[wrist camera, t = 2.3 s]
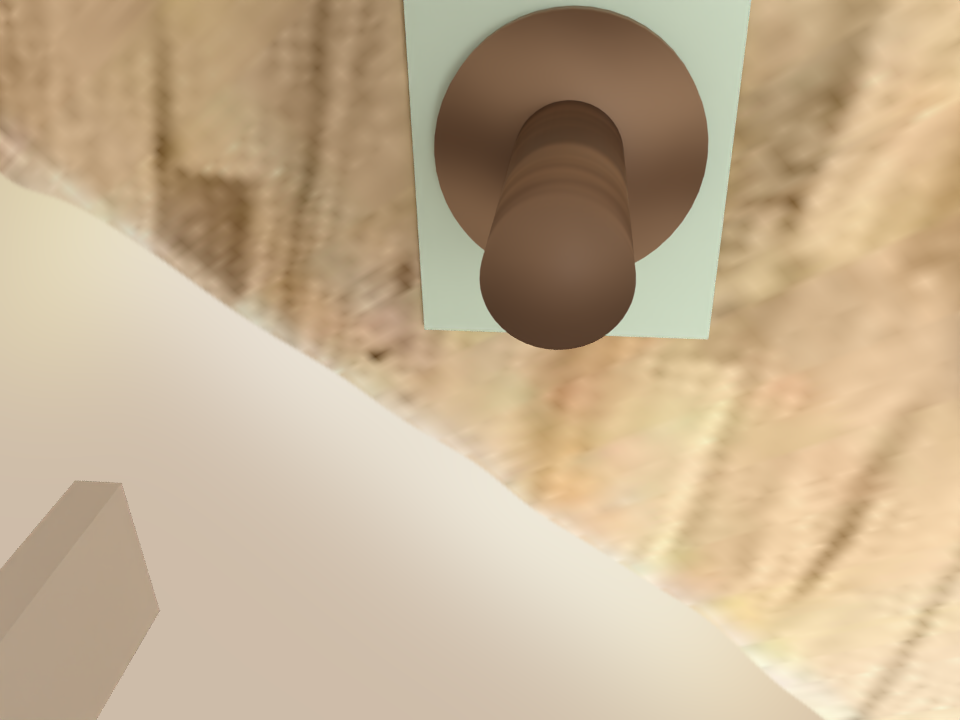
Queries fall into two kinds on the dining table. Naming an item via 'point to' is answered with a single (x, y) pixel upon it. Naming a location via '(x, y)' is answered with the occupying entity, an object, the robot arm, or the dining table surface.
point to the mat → (659, 276)
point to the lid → (569, 166)
